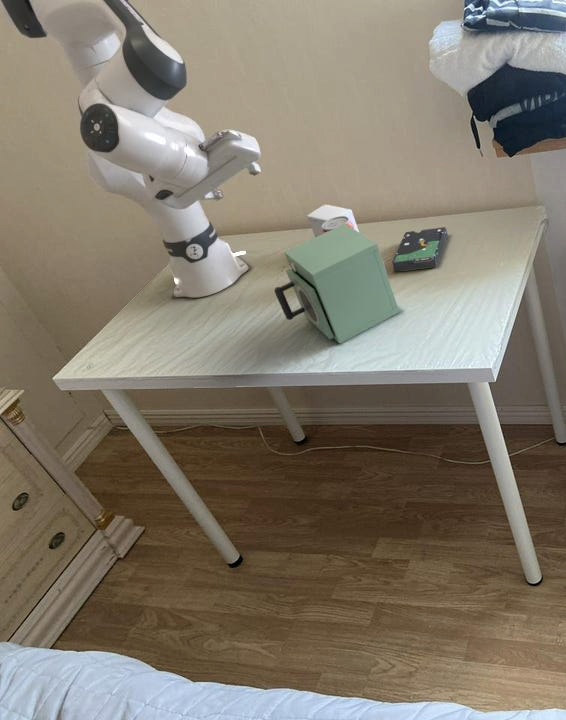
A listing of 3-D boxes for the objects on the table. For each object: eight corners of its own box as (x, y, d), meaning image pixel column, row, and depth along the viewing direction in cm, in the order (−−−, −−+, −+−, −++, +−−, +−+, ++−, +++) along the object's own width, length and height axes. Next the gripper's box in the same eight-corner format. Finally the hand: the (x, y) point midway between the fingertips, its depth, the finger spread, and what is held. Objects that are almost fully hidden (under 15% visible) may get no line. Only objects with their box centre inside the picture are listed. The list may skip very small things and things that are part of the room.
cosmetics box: (319, 253, 174) (305, 215, 168) (338, 241, 178) (325, 203, 172) (346, 260, 168) (332, 220, 162) (365, 247, 172) (352, 208, 165)
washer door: (311, 349, 136) (290, 301, 130) (287, 324, 146) (267, 279, 139) (333, 337, 138) (314, 289, 131) (309, 314, 148) (289, 268, 141)
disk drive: (407, 242, 169) (394, 273, 158) (404, 232, 168) (390, 262, 156) (448, 236, 167) (438, 267, 155) (446, 226, 165) (435, 256, 154)
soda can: (363, 279, 158) (344, 228, 151) (334, 282, 160) (314, 231, 153) (372, 263, 164) (355, 213, 156) (344, 266, 166) (326, 216, 158)
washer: (338, 344, 138) (310, 275, 129) (309, 318, 149) (282, 252, 140) (399, 312, 143) (377, 243, 134) (367, 288, 154) (344, 223, 145)
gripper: (219, 111, 114) (275, 139, 127) (134, 174, 121) (195, 195, 134) (231, 144, 113) (285, 169, 126) (144, 205, 120) (204, 223, 133)
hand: (238, 183), depth 130 cm, fingers open, 8 cm apart
